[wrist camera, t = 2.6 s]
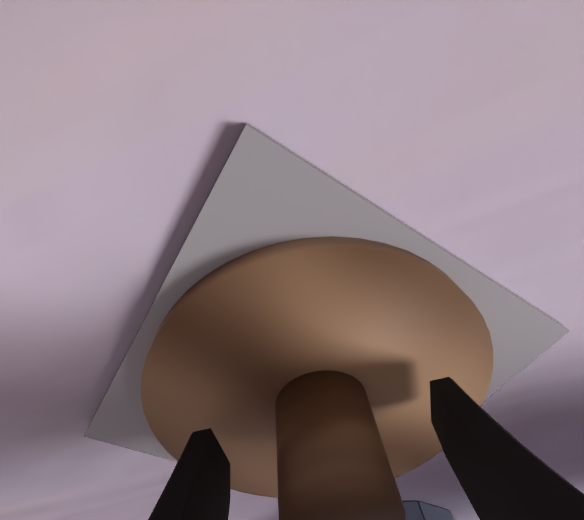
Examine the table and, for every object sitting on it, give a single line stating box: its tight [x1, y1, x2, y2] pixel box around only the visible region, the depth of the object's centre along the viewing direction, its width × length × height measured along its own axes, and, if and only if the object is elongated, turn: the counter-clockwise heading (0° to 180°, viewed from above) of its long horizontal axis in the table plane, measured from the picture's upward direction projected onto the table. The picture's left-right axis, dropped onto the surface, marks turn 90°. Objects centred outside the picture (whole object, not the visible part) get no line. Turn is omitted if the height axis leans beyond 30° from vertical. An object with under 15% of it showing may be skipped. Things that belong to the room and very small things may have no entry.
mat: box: [84, 123, 569, 462], centre depth 12 cm, size 13×13×1 cm
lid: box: [141, 236, 493, 520], centre depth 10 cm, size 12×12×4 cm
